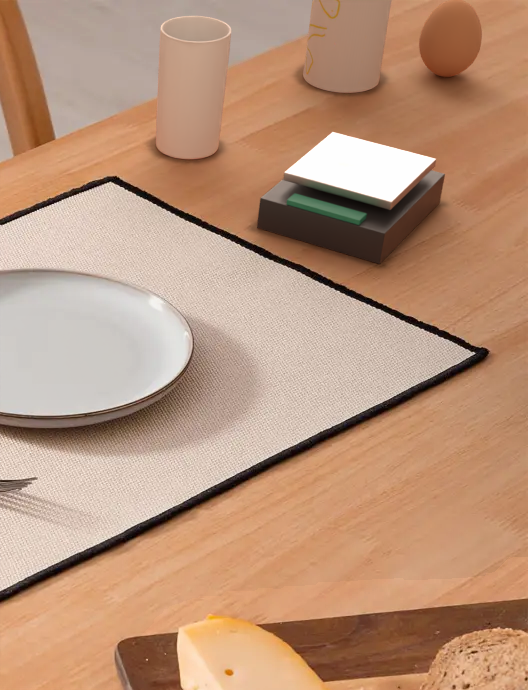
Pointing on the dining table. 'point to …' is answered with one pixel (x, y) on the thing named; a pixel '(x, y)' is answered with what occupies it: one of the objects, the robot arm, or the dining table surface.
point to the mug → (191, 85)
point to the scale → (347, 217)
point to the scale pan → (360, 170)
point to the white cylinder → (346, 44)
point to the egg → (450, 38)
